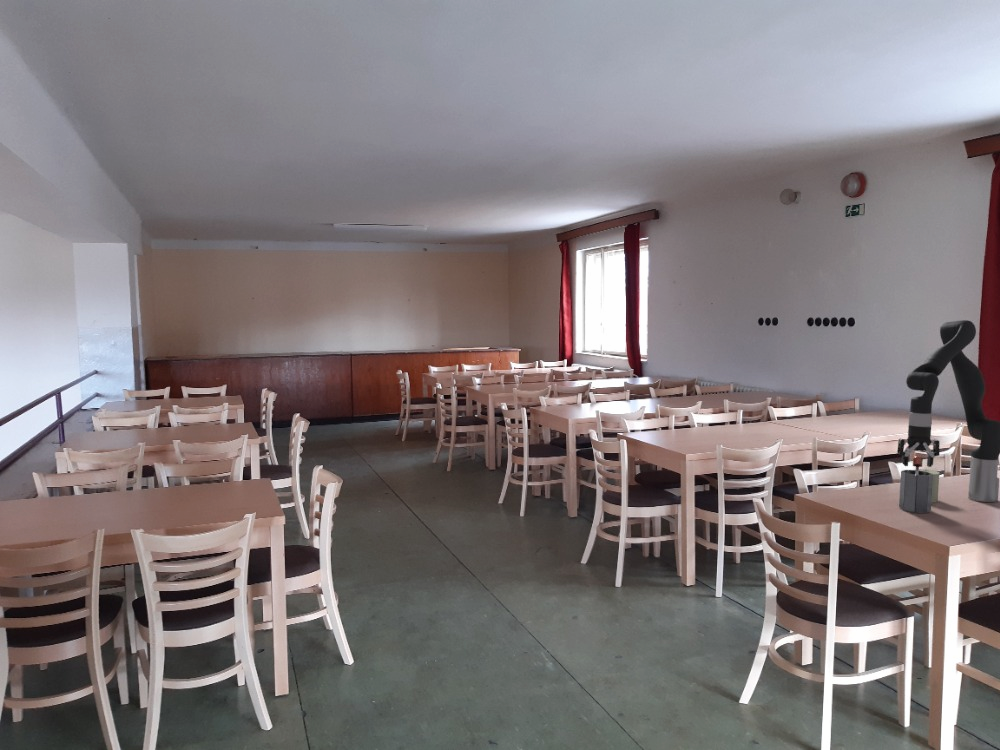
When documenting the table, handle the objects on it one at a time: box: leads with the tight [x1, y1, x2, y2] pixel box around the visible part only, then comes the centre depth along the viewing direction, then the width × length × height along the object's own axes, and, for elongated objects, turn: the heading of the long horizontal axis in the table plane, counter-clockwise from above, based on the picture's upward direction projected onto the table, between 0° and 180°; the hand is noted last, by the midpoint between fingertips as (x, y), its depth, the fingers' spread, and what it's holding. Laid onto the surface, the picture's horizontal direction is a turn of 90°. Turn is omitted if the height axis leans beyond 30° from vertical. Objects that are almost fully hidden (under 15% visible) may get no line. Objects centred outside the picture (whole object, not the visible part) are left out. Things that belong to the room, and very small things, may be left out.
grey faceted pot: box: [898, 469, 933, 514], centre depth 279 cm, size 10×12×14 cm
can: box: [919, 468, 940, 503], centre depth 293 cm, size 9×9×12 cm
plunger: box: [912, 455, 924, 475], centre depth 277 cm, size 7×7×20 cm
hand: (917, 466), depth 277 cm, fingers open, 8 cm apart
